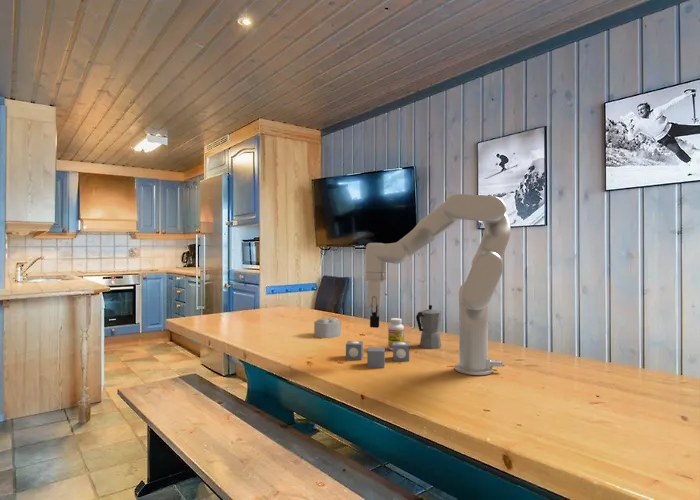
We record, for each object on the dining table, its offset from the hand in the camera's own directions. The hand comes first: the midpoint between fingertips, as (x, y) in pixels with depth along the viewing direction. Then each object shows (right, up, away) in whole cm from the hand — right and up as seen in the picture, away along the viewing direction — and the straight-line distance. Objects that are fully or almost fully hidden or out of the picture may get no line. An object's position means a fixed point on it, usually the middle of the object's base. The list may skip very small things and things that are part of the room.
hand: (374, 327), depth 156 cm
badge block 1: (-7, -14, +11) cm, 19 cm away
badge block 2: (+11, -14, +9) cm, 20 cm away
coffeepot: (+25, -14, +29) cm, 41 cm away
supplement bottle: (+11, -14, +25) cm, 31 cm away
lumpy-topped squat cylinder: (-19, -14, +54) cm, 59 cm away
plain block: (+1, -14, 0) cm, 14 cm away
